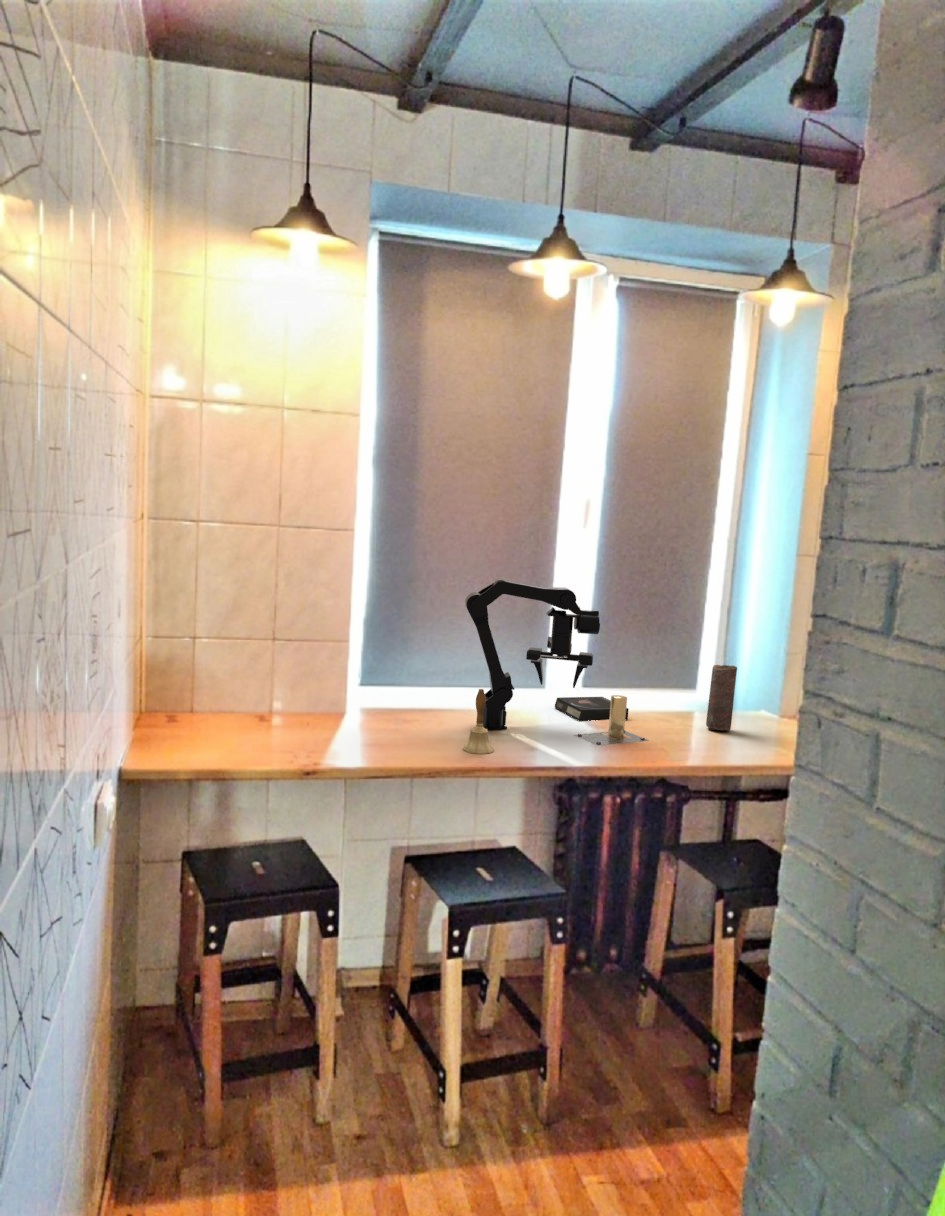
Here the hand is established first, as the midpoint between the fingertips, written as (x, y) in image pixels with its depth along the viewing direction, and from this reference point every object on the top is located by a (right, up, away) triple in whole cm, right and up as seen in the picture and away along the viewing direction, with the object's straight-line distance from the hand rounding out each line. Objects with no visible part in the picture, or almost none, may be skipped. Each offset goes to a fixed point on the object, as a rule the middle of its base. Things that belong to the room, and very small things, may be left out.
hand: (557, 686), depth 265 cm
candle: (+50, -15, +16) cm, 54 cm away
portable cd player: (+13, -12, +26) cm, 31 cm away
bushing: (+16, -15, -5) cm, 22 cm away
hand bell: (-23, -15, -24) cm, 36 cm away
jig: (+14, -15, -8) cm, 22 cm away
